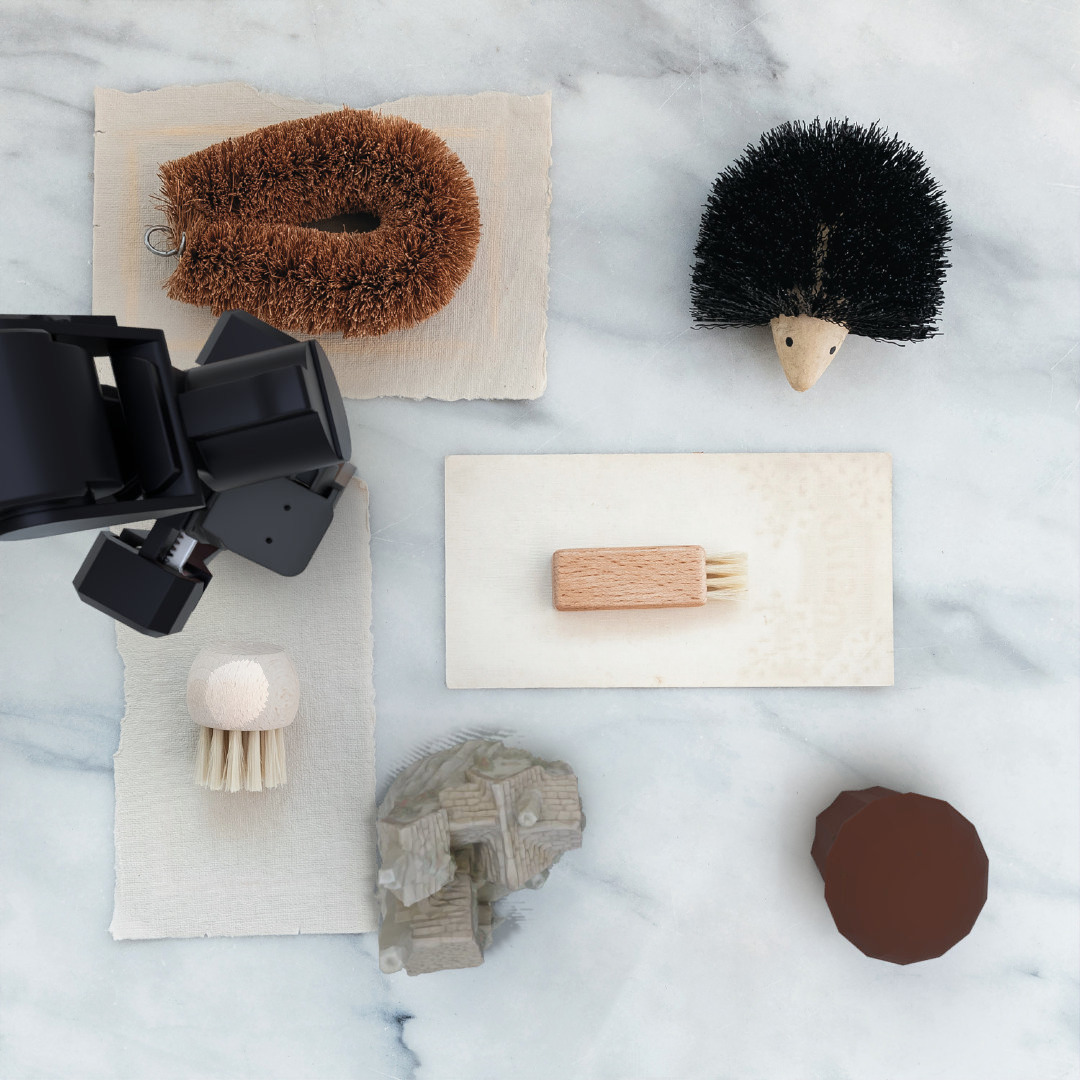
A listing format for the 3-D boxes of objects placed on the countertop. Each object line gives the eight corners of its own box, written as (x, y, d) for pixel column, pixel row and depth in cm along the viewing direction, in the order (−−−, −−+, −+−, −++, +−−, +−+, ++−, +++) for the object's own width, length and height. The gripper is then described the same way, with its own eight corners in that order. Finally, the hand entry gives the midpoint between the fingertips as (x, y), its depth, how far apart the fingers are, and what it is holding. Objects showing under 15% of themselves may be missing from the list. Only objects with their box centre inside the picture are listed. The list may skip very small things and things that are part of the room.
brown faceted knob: (839, 741, 64) (896, 777, 54) (967, 808, 64) (1049, 856, 54) (767, 880, 64) (811, 942, 54) (896, 948, 64) (964, 1022, 54)
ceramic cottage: (365, 946, 63) (331, 1060, 48) (384, 725, 64) (358, 770, 49) (571, 956, 64) (601, 1070, 49) (587, 739, 65) (622, 786, 50)
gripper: (195, 706, 41) (287, 663, 57) (380, 373, 41) (421, 421, 57) (-6, 597, 41) (141, 584, 57) (181, 263, 41) (276, 342, 57)
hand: (249, 484), depth 57 cm, fingers open, 9 cm apart
